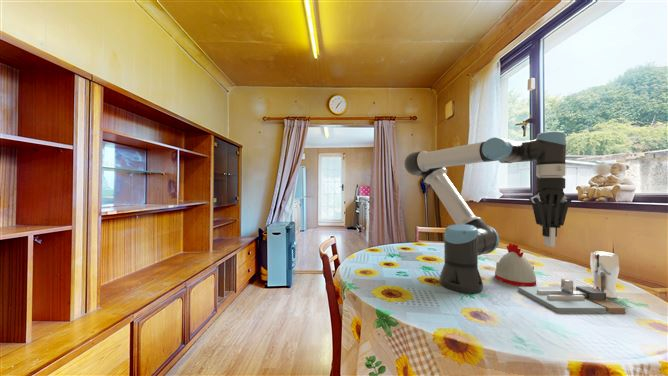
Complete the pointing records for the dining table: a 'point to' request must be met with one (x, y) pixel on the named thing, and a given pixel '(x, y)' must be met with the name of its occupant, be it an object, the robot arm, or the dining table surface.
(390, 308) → the dining table surface
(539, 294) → the door lock board
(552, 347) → the dining table surface
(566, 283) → the steel bolt
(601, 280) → the beer glass
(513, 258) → the kitchen timer
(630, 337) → the dining table surface
